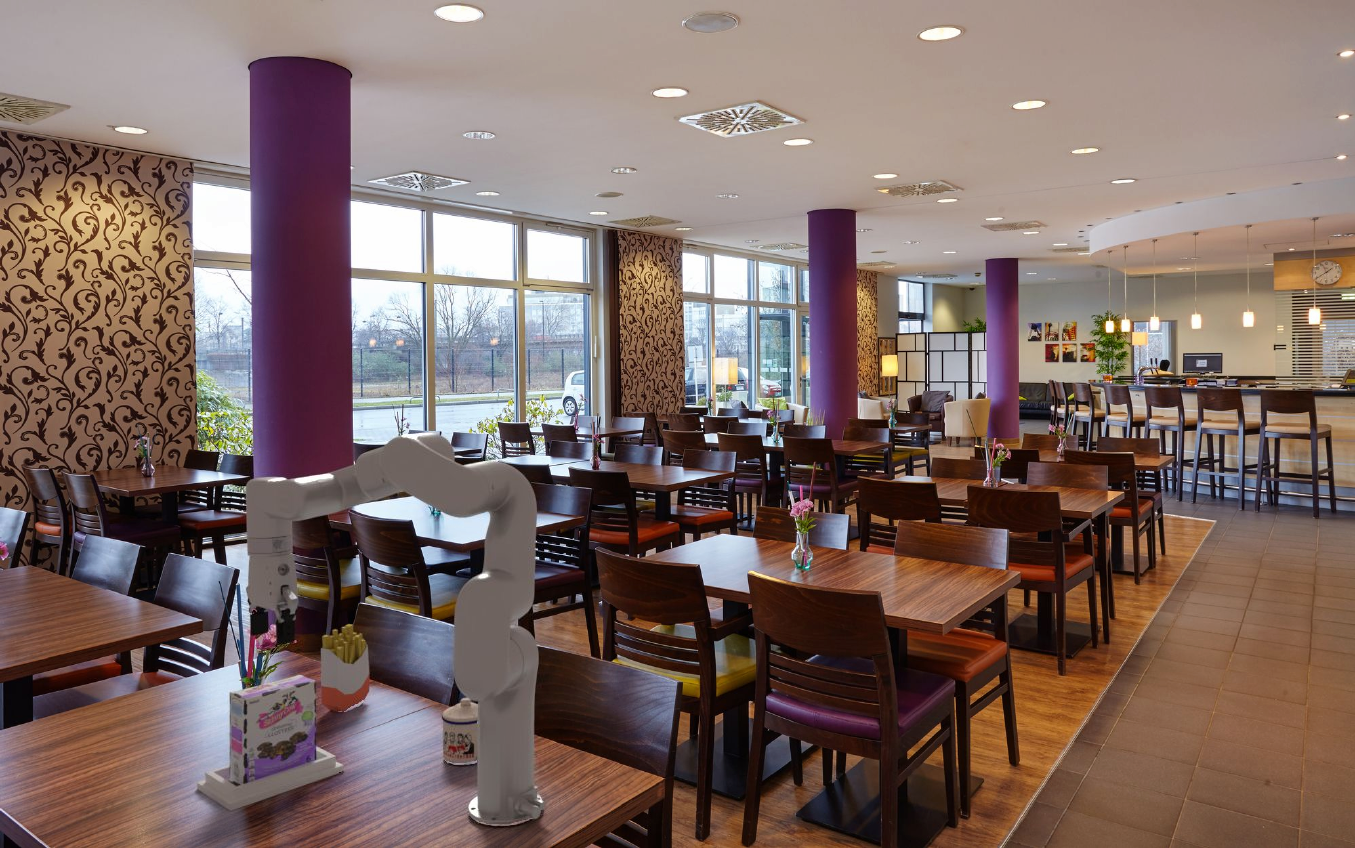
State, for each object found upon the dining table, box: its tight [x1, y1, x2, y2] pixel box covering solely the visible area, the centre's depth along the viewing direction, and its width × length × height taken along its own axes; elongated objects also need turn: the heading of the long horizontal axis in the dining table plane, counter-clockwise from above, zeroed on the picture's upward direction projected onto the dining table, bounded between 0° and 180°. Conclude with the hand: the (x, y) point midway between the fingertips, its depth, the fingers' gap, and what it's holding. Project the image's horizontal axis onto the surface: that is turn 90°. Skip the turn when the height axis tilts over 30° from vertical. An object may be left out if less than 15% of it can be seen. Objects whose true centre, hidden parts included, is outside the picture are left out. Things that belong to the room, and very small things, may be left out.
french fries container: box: [320, 623, 370, 713], centre depth 204 cm, size 5×11×18 cm, turn 160°
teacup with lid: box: [441, 697, 478, 763], centre depth 177 cm, size 12×9×12 cm
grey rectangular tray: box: [196, 745, 345, 812], centre depth 167 cm, size 13×21×3 cm, turn 140°
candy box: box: [229, 674, 317, 786], centre depth 166 cm, size 14×6×16 cm, turn 141°
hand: (272, 638), depth 166 cm, fingers open, 9 cm apart
